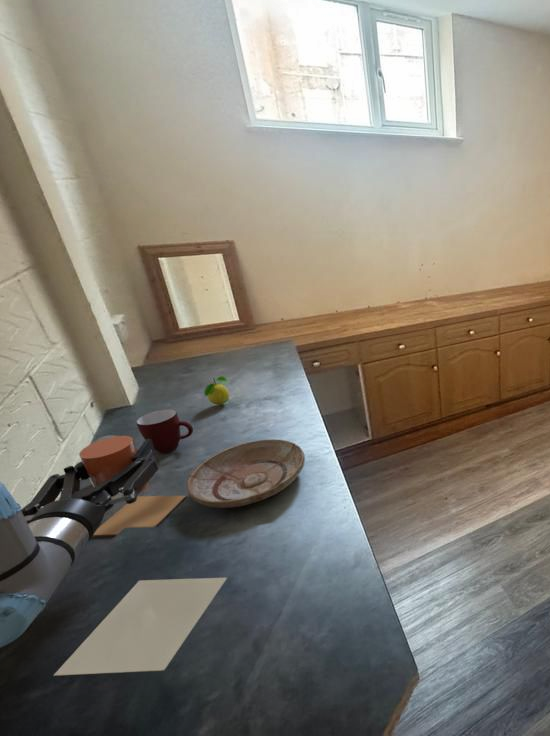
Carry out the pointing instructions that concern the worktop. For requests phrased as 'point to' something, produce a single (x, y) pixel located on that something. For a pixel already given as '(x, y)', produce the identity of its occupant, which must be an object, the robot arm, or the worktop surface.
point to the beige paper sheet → (144, 627)
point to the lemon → (217, 392)
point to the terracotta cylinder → (108, 458)
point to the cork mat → (140, 514)
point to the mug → (163, 429)
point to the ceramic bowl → (246, 473)
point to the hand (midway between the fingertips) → (125, 448)
